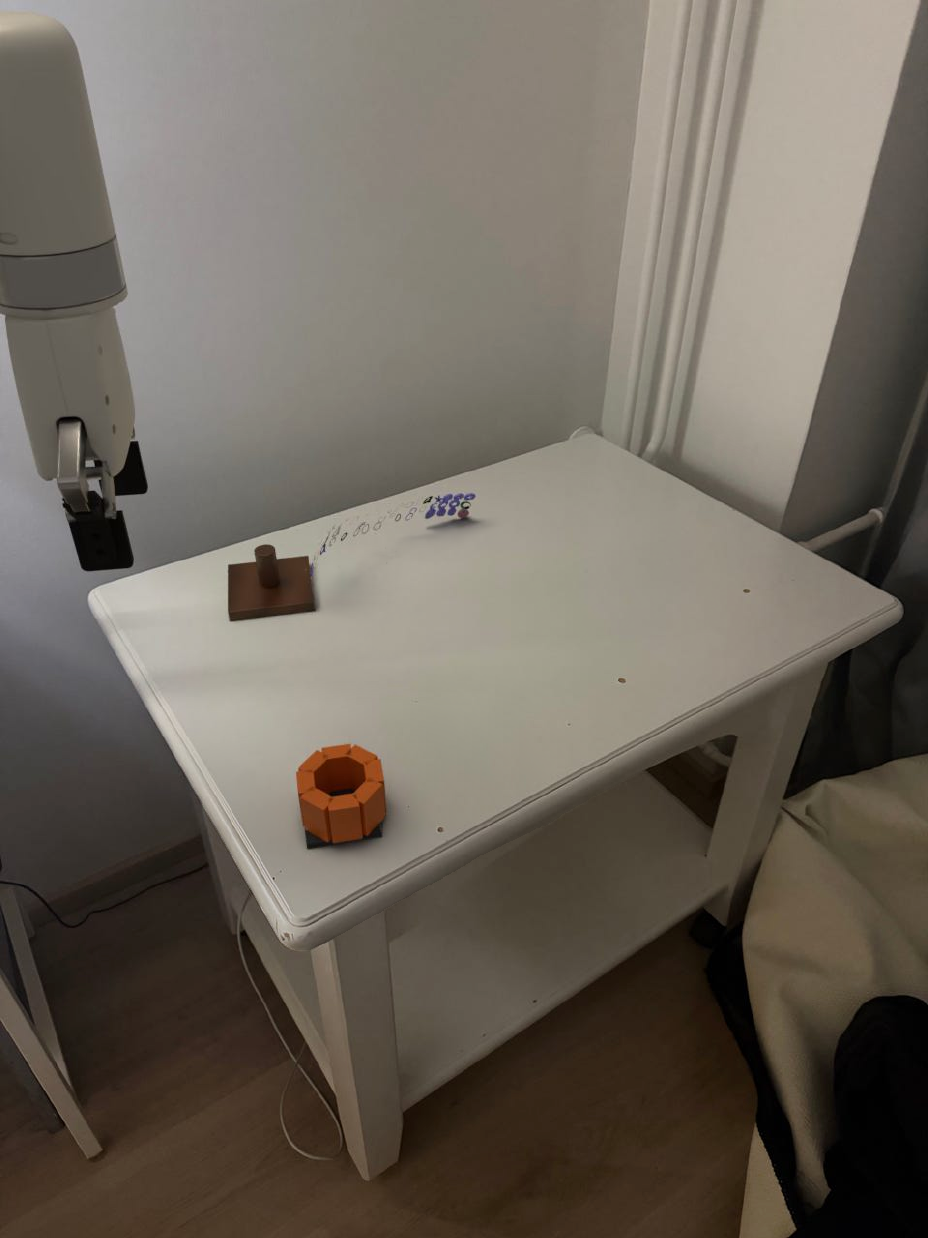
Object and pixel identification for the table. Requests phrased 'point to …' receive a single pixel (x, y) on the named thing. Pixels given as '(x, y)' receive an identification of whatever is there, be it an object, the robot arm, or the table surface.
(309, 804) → the orange octagonal tube
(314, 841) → the mat
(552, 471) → the table surface
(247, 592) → the rack
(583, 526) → the table surface
